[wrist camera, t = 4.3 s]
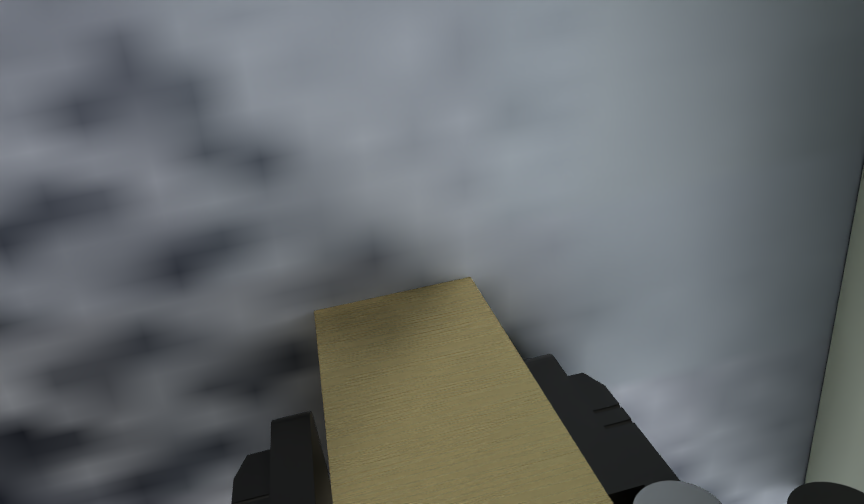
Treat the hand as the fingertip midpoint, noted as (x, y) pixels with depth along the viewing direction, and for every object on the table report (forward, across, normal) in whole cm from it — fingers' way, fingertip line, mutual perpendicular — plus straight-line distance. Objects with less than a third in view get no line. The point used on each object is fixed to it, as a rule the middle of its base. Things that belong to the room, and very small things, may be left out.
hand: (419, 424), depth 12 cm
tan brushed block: (+1, 0, 0) cm, 1 cm away
